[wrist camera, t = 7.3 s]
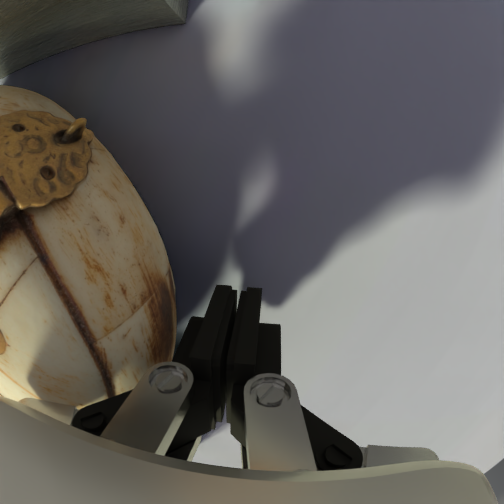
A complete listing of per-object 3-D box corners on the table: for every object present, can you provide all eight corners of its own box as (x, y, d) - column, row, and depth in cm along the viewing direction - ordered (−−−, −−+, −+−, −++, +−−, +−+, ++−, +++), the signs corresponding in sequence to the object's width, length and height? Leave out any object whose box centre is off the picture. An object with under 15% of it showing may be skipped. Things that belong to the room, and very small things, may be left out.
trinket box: (180, 378, 14) (136, 504, 7) (-7, 291, 14) (-75, 351, 7) (241, 109, 9) (151, 36, 2) (-9, 91, 9) (-115, 106, 1)
